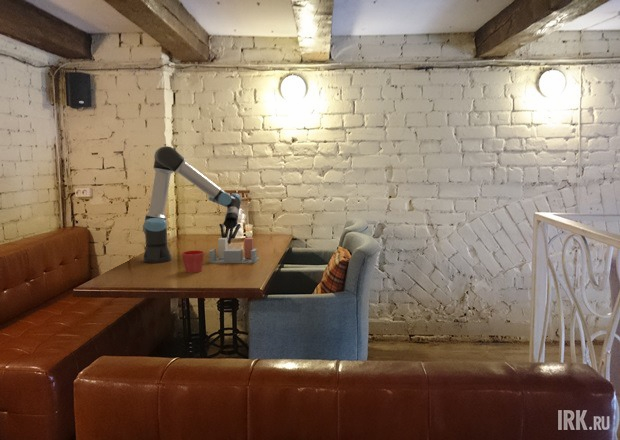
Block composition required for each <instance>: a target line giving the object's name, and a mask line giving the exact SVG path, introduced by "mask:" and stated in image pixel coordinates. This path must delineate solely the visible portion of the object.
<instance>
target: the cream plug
mask: <svg viewBox="0 0 620 440" xmlns="http://www.w3.org/2000/svg"><path fill="white" fill-rule="evenodd" d="M226 249H227V238H222V237H219V238H217V251H218V252H217V254H218V255H217V258H219V259H224V250H226Z"/></svg>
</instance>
